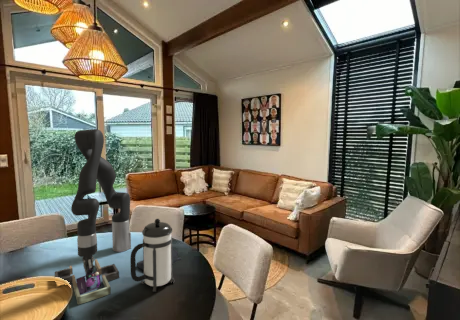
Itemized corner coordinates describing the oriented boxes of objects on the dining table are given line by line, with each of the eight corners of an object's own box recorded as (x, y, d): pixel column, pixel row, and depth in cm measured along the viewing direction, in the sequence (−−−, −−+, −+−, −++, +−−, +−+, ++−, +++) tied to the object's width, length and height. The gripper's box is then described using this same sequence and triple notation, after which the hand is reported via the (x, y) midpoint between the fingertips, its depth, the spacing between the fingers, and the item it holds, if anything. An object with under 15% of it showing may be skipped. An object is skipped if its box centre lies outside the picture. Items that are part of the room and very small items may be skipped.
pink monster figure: (76, 279, 108) (99, 270, 114) (73, 278, 111) (95, 270, 118) (79, 295, 107) (102, 286, 113) (75, 294, 111) (98, 285, 117)
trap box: (109, 261, 136) (109, 255, 136) (125, 288, 112) (125, 282, 112) (54, 276, 121) (54, 269, 121) (59, 311, 98) (59, 303, 98)
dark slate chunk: (131, 267, 131) (131, 258, 131) (165, 251, 149) (165, 243, 149) (151, 277, 123) (150, 267, 122) (184, 259, 140) (184, 250, 140)
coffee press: (145, 273, 125) (144, 213, 122) (178, 274, 124) (178, 213, 121) (130, 296, 108) (128, 226, 104) (168, 297, 107) (168, 227, 104)
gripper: (99, 246, 111) (101, 284, 113) (94, 236, 121) (95, 271, 123) (79, 251, 106) (81, 290, 108) (75, 240, 117) (77, 276, 119)
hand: (89, 280), depth 116 cm, fingers closed
